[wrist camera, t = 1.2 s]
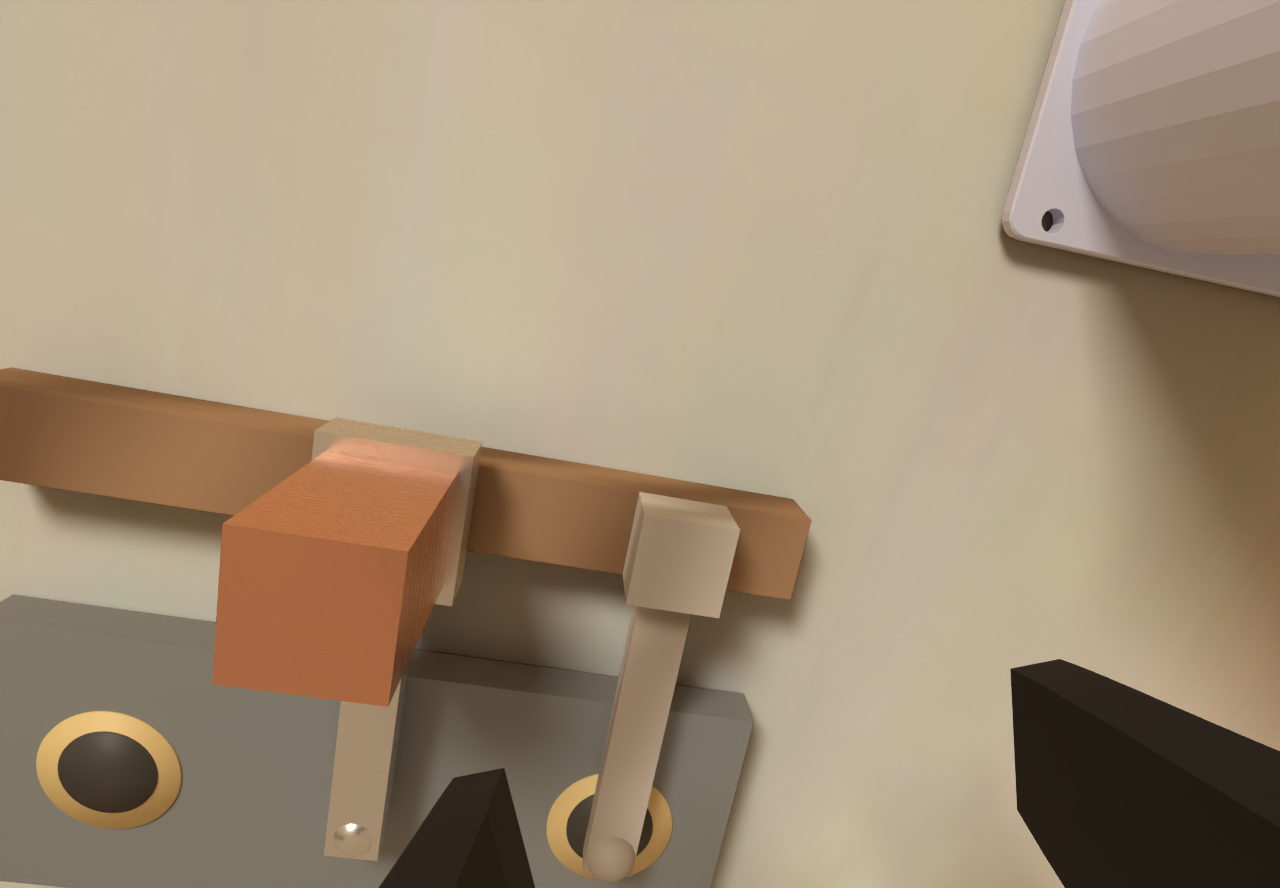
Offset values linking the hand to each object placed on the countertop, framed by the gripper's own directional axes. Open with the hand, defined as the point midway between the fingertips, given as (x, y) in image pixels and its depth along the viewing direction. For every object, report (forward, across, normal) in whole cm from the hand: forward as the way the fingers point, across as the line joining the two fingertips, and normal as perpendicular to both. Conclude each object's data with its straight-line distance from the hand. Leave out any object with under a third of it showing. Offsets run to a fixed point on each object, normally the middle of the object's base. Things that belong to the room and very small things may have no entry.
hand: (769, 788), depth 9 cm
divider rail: (+9, +7, +1) cm, 12 cm away
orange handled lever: (+8, +7, +1) cm, 11 cm away
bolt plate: (+9, +9, +5) cm, 14 cm away
